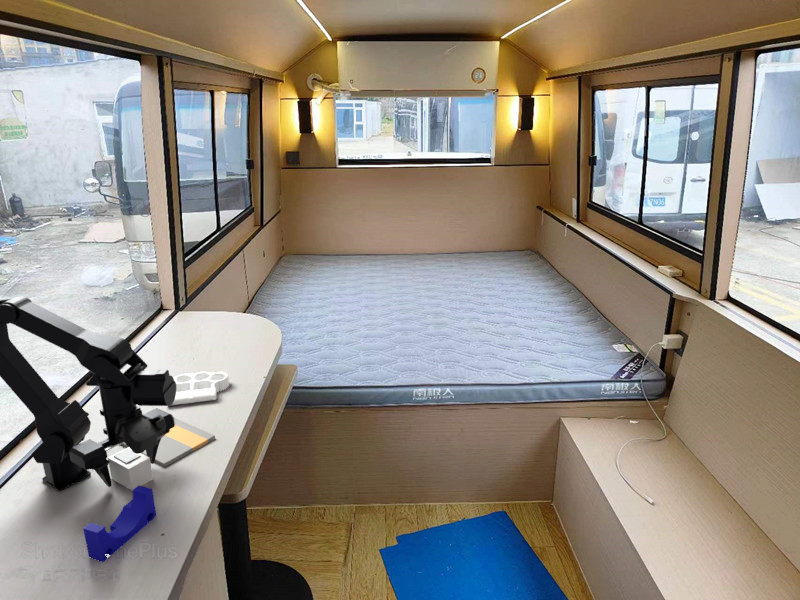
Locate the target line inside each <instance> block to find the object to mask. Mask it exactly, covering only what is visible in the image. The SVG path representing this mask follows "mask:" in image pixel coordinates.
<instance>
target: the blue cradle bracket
mask: <svg viewBox="0 0 800 600" xmlns="http://www.w3.org/2000/svg"><path fill="white" fill-rule="evenodd" d="M154 497H155V496H154V492H153V488H151V487H148V486H147V487H146V486H143V485H142V486H137V487H136V488H135V489H134V490H133V491H132V499H131V500H130V501H129V502H127V503H126V504H125V505H123V507H122V510H121V511H120V513H119V514H118V516H117V517H116V518H115V520H114V521H113V522H112V523H111V524H110V525H109V529H110V531H107V529H106V527H105V526H104V525H100V524H96V523H93V522H90V523H88V524H87V525H85V526H84V527H83V529H82V530H83V535H84V539H85V544H86V549H87V553H88V558H89V557H91V558H93V559H92V560H94V559H96V560H95V561H97V560H99V561H98V562H100V561H102V562H101V563H105V562H106V561H107V560H108V559H107V557H106V556H107V555H106V556H105V554H109V555H111V556H113V555H114V554H115V553H116V552H117V551H119V550H120V547H121V546H122V547H123V546H124V545H125V544H126V543H128V542H129V540H131V539H132V538H133V537H134V536H136V535H137V534H138V533H139V532H140V531H141V530H142V529H143V528H145V527H146V526H147V525H148V524H150V522H152V521H153V520H154V519H155V518H156V517H157V510H156V504H155V503H156V502H155V499H154ZM122 547H121V548H122ZM115 551H116V552H115ZM114 552H115V553H114ZM113 553H114V554H113ZM112 554H113V555H112ZM91 558H90V559H91ZM106 559H107V560H106ZM105 560H106V561H105Z"/></svg>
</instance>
